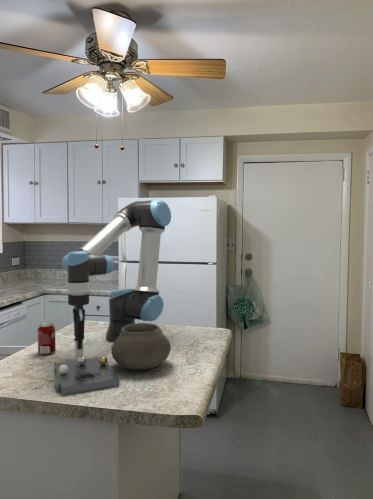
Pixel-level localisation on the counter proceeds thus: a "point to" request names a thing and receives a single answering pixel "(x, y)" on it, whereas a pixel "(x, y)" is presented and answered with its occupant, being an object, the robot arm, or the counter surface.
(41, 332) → the soda can
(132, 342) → the clay pot
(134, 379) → the counter surface
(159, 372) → the counter surface
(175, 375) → the counter surface
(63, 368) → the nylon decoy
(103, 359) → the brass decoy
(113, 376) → the grey flat block
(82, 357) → the steel ball
